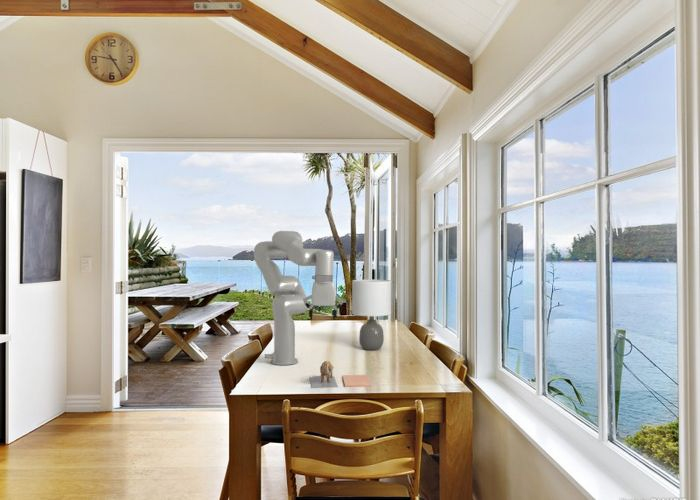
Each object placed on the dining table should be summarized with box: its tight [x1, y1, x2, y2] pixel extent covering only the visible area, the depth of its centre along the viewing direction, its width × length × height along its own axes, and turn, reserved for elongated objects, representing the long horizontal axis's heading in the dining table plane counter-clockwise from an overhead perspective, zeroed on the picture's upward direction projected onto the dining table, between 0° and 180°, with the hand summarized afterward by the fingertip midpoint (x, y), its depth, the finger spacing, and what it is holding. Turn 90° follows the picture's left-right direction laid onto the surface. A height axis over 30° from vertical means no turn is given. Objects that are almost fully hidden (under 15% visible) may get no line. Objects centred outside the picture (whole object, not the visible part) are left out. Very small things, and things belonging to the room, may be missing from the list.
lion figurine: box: [319, 360, 335, 383], centre depth 200 cm, size 15×5×9 cm, turn 4°
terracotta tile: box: [342, 374, 372, 388], centre depth 199 cm, size 10×16×1 cm, turn 4°
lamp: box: [351, 279, 392, 351], centre depth 267 cm, size 21×21×37 cm
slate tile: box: [309, 376, 339, 389], centre depth 198 cm, size 10×16×1 cm, turn 7°
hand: (322, 318), depth 213 cm, fingers open, 9 cm apart
